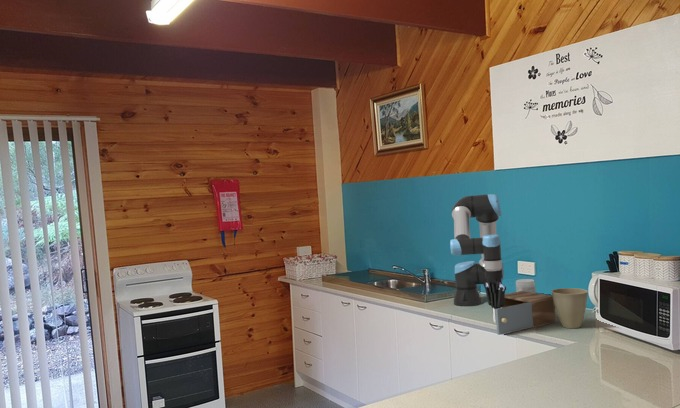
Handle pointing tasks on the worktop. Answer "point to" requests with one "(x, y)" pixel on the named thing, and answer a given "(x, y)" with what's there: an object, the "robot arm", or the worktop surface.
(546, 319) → the cabinet
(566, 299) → the plant pot
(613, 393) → the worktop surface
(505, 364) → the worktop surface
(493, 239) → the robot arm
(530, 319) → the cabinet door
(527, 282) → the supplement tub
